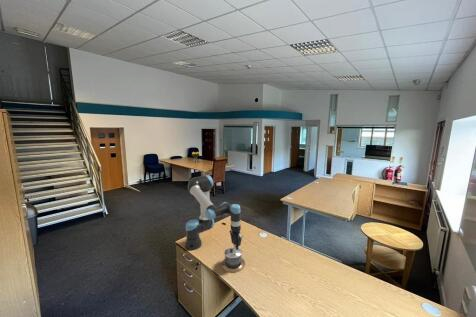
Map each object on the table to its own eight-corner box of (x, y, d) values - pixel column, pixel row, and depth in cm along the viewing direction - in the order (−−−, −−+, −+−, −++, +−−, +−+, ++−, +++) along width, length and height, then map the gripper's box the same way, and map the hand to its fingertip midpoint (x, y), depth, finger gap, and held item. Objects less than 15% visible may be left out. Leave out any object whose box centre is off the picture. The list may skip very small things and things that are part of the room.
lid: (220, 253, 167) (220, 250, 167) (233, 246, 176) (233, 243, 176) (232, 261, 156) (231, 257, 156) (245, 253, 165) (245, 250, 165)
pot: (216, 263, 169) (216, 254, 167) (234, 253, 181) (234, 244, 180) (231, 276, 155) (231, 266, 153) (250, 264, 167) (249, 254, 166)
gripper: (226, 223, 161) (227, 250, 165) (237, 229, 151) (238, 258, 156) (233, 220, 166) (234, 247, 170) (245, 226, 156) (245, 254, 160)
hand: (236, 252), depth 163 cm, fingers closed
